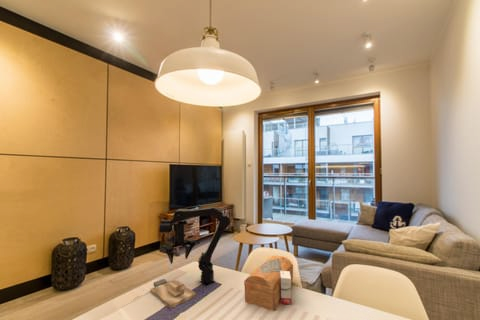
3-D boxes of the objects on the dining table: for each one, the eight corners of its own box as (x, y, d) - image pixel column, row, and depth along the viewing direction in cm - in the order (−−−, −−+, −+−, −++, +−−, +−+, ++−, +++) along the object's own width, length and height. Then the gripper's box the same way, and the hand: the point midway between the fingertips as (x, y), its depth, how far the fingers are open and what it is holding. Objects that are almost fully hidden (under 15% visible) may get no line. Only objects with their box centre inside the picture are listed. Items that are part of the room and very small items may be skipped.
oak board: (174, 282, 129) (174, 279, 129) (195, 296, 115) (196, 293, 115) (150, 291, 119) (150, 288, 119) (170, 308, 105) (170, 305, 105)
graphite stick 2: (167, 285, 127) (165, 283, 128) (167, 281, 127) (165, 280, 128) (156, 289, 122) (154, 287, 124) (156, 285, 122) (154, 284, 124)
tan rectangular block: (176, 288, 119) (176, 278, 120) (184, 293, 115) (184, 283, 115) (167, 292, 116) (167, 282, 116) (175, 297, 111) (175, 287, 111)
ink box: (291, 304, 107) (291, 278, 108) (280, 303, 108) (280, 278, 108) (289, 294, 116) (289, 270, 116) (280, 293, 117) (280, 269, 117)
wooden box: (275, 313, 102) (275, 281, 103) (243, 302, 111) (243, 272, 111) (296, 283, 128) (295, 258, 129) (268, 276, 136) (268, 252, 137)
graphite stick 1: (165, 283, 128) (163, 282, 130) (165, 279, 128) (163, 278, 130) (155, 287, 124) (153, 286, 125) (155, 283, 124) (153, 282, 125)
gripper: (185, 226, 141) (185, 252, 141) (156, 233, 128) (156, 261, 127) (196, 230, 133) (196, 257, 133) (166, 237, 120) (166, 268, 120)
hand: (179, 261), depth 128 cm, fingers open, 9 cm apart
